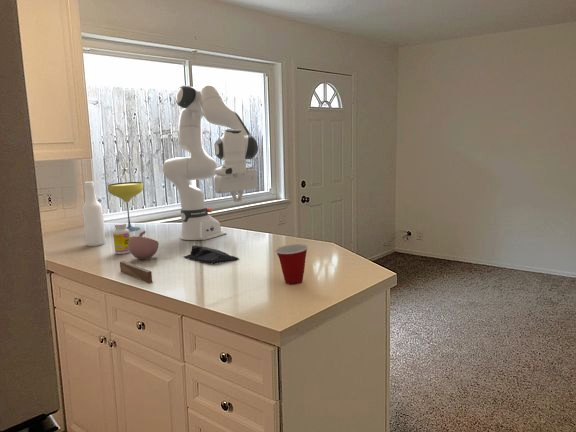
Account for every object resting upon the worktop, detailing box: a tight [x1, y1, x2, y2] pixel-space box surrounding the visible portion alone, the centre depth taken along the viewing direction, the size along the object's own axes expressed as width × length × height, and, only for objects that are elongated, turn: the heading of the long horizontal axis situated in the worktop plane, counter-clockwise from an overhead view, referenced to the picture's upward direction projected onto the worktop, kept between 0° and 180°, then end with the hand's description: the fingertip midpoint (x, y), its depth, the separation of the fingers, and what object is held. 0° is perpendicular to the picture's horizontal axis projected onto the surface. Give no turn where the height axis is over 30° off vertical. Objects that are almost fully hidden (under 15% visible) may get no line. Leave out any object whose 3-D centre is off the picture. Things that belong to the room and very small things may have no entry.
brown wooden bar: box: [119, 260, 153, 284], centre depth 177 cm, size 2×22×4 cm, turn 43°
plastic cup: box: [275, 243, 309, 286], centre depth 162 cm, size 11×11×12 cm
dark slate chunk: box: [183, 245, 240, 265], centre depth 199 cm, size 15×22×5 cm
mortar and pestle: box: [128, 230, 160, 260], centre depth 203 cm, size 12×12×11 cm
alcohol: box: [81, 180, 107, 247], centre depth 232 cm, size 9×9×30 cm
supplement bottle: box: [112, 222, 131, 255], centre depth 215 cm, size 7×7×13 cm
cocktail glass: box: [107, 181, 144, 232], centre depth 266 cm, size 18×18×25 cm
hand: (237, 201), depth 206 cm, fingers closed
